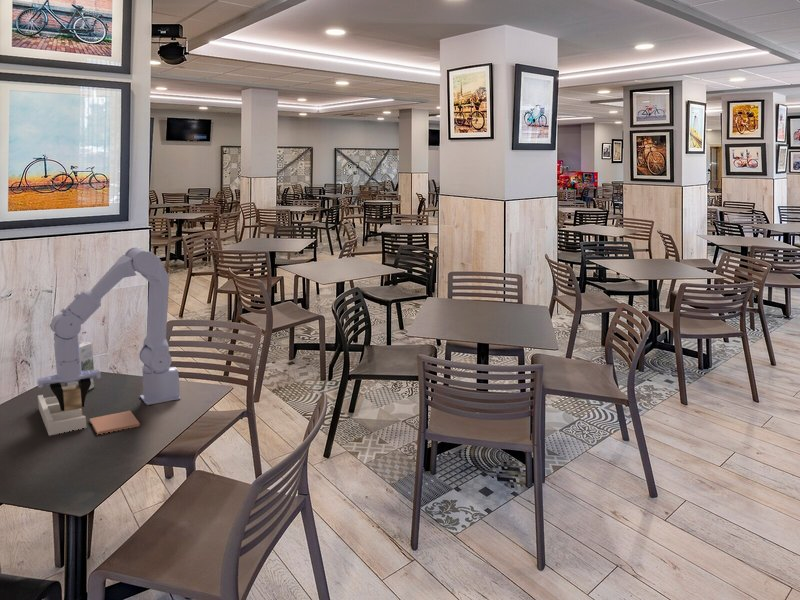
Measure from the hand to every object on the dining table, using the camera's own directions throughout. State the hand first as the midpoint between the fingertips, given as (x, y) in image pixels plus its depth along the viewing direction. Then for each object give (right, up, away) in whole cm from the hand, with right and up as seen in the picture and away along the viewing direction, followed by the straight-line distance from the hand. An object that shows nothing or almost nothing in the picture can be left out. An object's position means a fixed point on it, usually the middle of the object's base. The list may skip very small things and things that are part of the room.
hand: (72, 407), depth 156 cm
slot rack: (-2, -3, -1) cm, 4 cm away
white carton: (-8, +2, +19) cm, 21 cm away
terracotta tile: (+13, -4, -3) cm, 14 cm away
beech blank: (0, -2, 0) cm, 2 cm away
